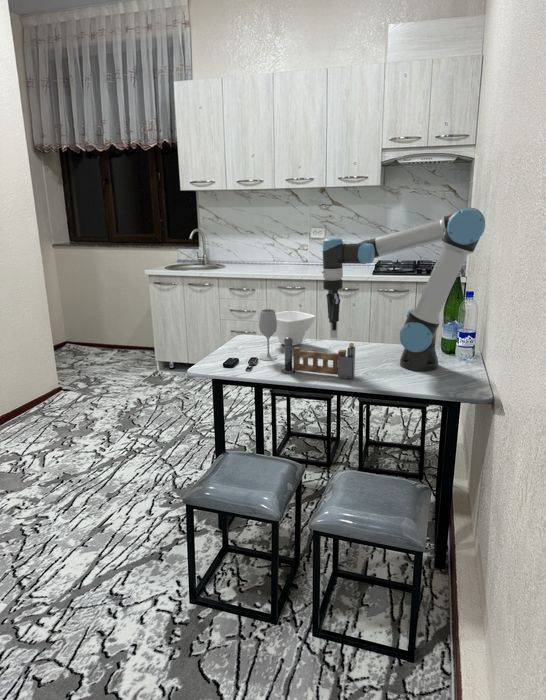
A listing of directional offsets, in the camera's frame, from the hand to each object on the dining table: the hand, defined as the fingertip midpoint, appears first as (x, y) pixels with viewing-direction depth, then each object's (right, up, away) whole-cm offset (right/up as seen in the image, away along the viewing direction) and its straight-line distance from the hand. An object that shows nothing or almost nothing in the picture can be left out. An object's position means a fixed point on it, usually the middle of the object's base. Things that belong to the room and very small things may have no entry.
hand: (333, 337), depth 210 cm
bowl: (-16, -3, +37) cm, 40 cm away
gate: (-6, -14, -6) cm, 16 cm away
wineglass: (-26, -9, +16) cm, 32 cm away
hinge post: (-18, -14, -2) cm, 23 cm away
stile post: (+4, -16, -10) cm, 19 cm away
